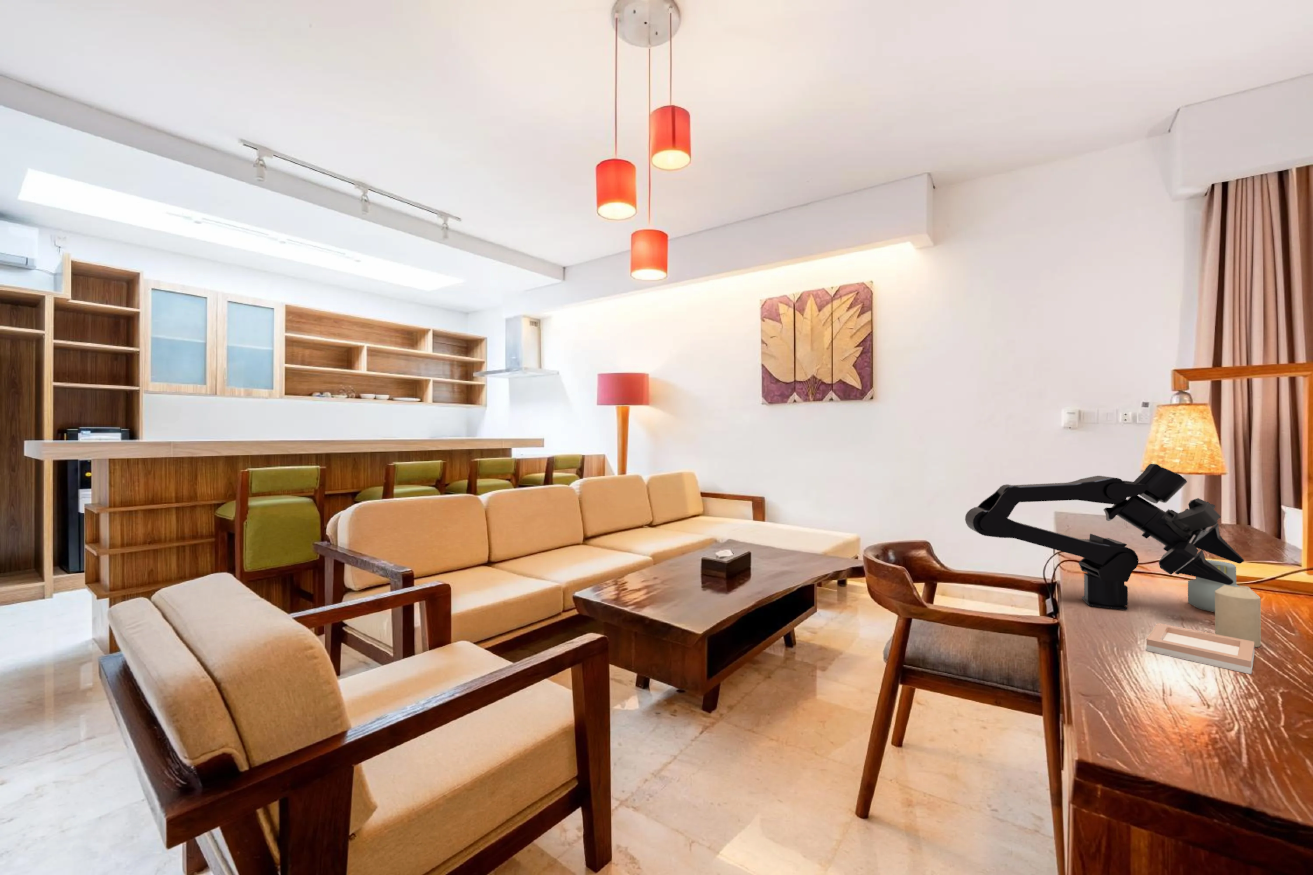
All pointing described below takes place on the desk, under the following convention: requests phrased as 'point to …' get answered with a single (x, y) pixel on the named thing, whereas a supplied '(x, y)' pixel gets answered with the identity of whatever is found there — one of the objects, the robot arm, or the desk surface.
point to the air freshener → (1209, 587)
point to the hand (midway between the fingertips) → (1237, 572)
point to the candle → (1238, 613)
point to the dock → (1202, 647)
